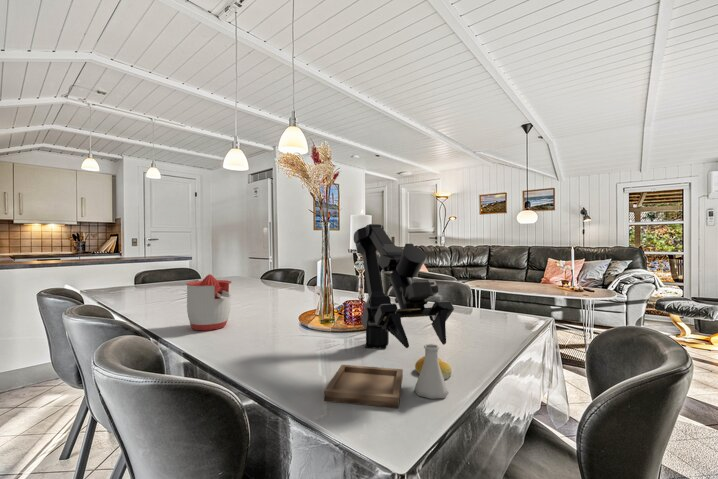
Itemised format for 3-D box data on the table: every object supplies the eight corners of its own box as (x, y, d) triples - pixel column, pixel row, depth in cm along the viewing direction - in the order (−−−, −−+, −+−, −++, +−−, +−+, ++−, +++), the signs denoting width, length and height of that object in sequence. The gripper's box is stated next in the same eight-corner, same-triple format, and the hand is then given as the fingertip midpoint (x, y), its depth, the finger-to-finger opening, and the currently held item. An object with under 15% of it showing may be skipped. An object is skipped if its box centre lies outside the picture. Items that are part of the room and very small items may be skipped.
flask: (449, 401, 68) (449, 352, 68) (413, 398, 70) (413, 350, 70) (447, 386, 75) (447, 342, 75) (414, 383, 77) (415, 340, 77)
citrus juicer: (206, 335, 114) (207, 277, 115) (176, 329, 123) (177, 274, 124) (243, 326, 128) (243, 273, 128) (214, 320, 137) (214, 271, 137)
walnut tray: (324, 400, 68) (324, 390, 68) (341, 372, 83) (341, 364, 83) (398, 408, 65) (398, 397, 65) (402, 377, 80) (402, 369, 80)
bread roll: (429, 384, 77) (429, 366, 77) (410, 369, 86) (410, 354, 86) (459, 379, 80) (459, 362, 80) (438, 365, 88) (438, 350, 88)
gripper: (379, 269, 77) (398, 328, 66) (449, 267, 83) (478, 322, 72) (367, 298, 84) (383, 356, 74) (433, 295, 90) (457, 348, 79)
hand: (426, 345), depth 74 cm, fingers open, 9 cm apart
